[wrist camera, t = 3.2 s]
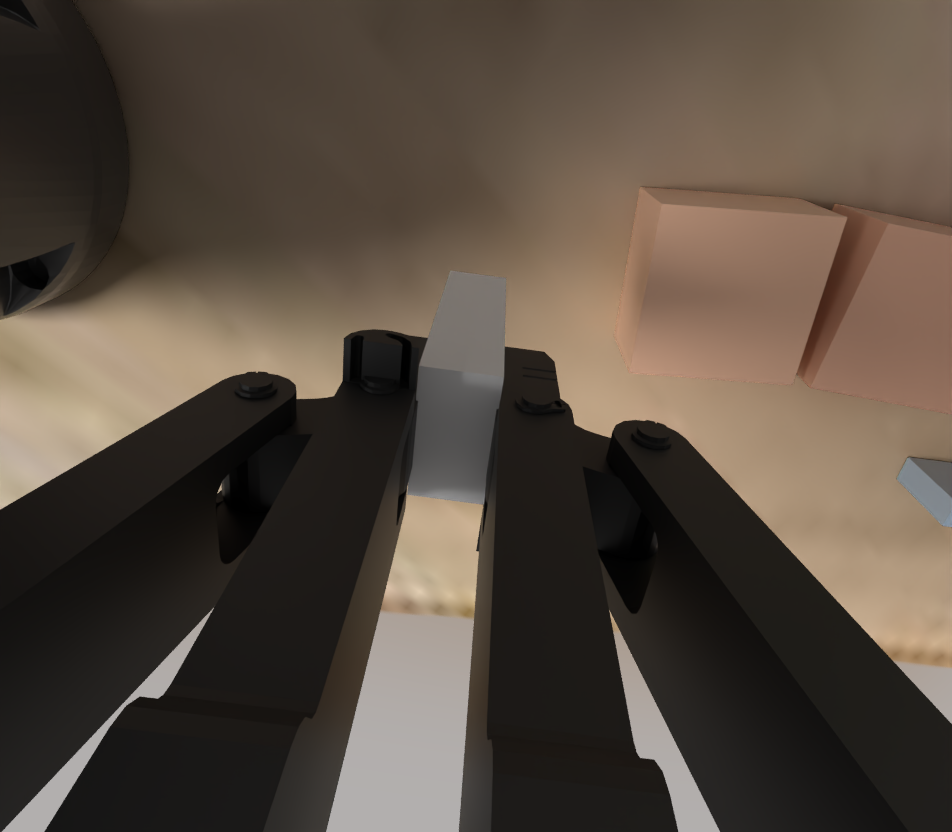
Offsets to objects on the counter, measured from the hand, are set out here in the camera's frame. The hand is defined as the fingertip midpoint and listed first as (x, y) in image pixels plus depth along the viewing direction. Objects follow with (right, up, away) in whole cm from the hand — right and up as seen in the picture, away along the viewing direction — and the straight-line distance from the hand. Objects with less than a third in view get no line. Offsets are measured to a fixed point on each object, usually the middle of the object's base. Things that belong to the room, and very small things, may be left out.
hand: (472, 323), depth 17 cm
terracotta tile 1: (+9, +3, +8) cm, 13 cm away
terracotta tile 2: (+16, +2, +8) cm, 18 cm away
